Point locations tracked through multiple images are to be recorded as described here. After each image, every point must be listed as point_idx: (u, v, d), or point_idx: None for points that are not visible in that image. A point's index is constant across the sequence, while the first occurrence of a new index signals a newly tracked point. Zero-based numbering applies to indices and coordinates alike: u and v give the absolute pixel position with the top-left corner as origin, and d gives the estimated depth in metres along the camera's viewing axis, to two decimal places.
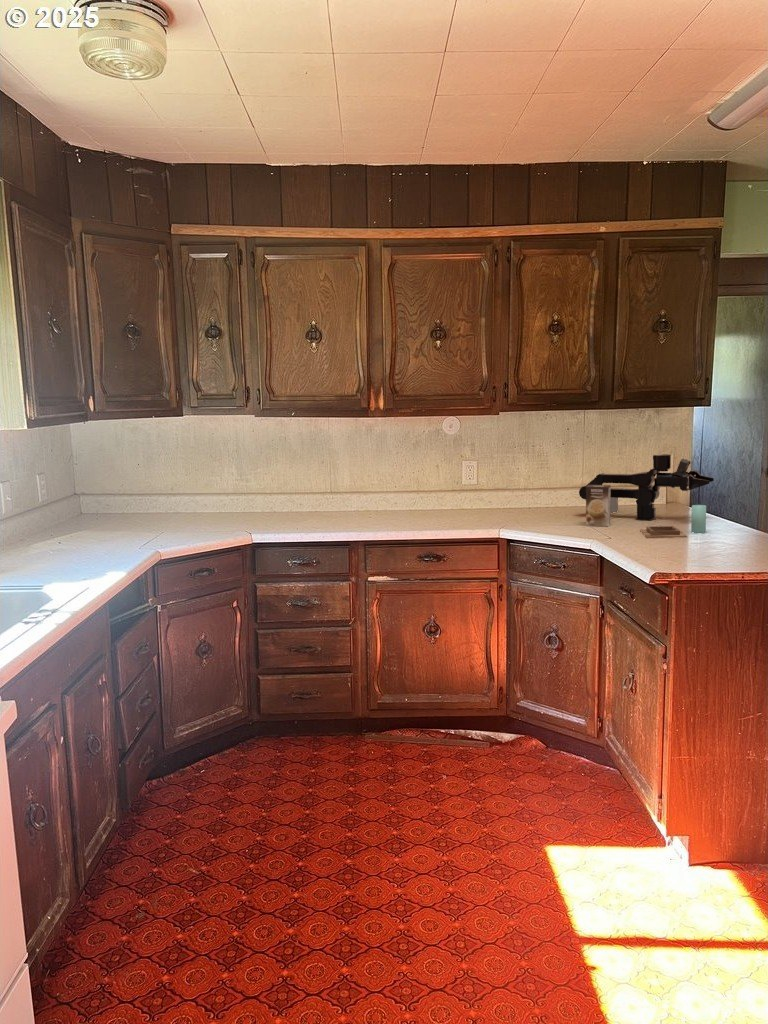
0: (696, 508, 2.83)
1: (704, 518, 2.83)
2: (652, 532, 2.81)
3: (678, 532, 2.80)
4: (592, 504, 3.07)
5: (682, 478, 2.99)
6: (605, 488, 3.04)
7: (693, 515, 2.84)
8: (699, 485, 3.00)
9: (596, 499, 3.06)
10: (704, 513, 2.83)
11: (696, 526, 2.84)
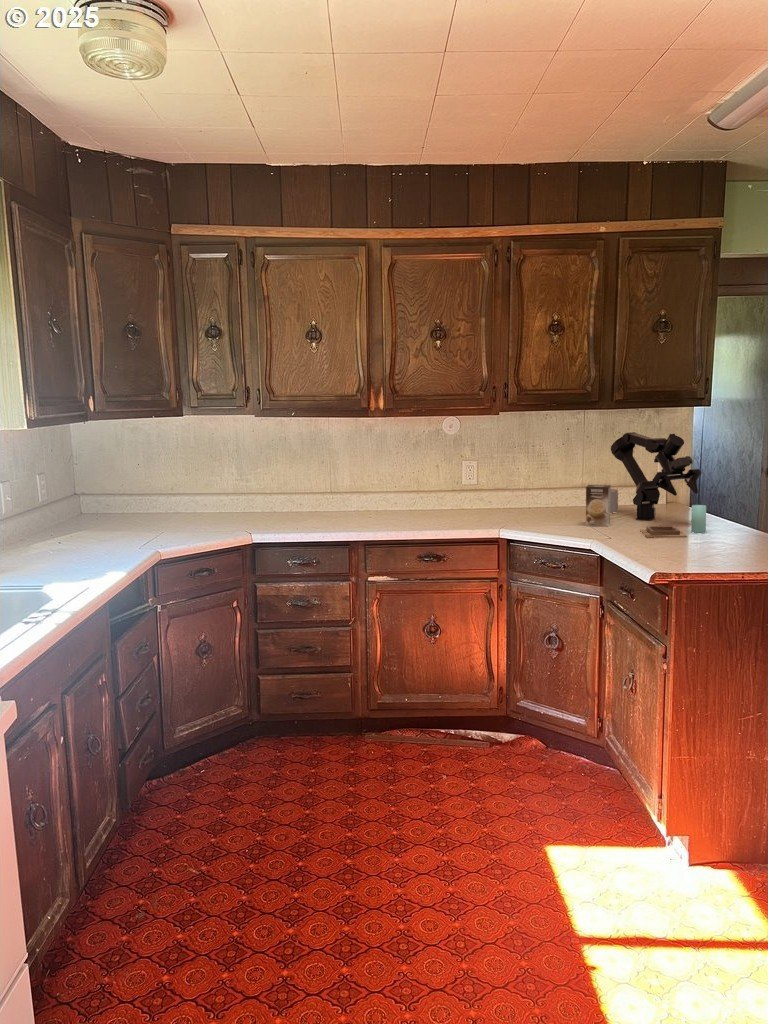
0: (696, 508, 2.83)
1: (704, 518, 2.83)
2: (652, 532, 2.81)
3: (678, 532, 2.80)
4: (592, 504, 3.07)
5: (657, 474, 2.93)
6: (605, 488, 3.04)
7: (693, 515, 2.84)
8: (668, 490, 2.93)
9: (596, 499, 3.06)
10: (704, 513, 2.83)
11: (696, 526, 2.84)
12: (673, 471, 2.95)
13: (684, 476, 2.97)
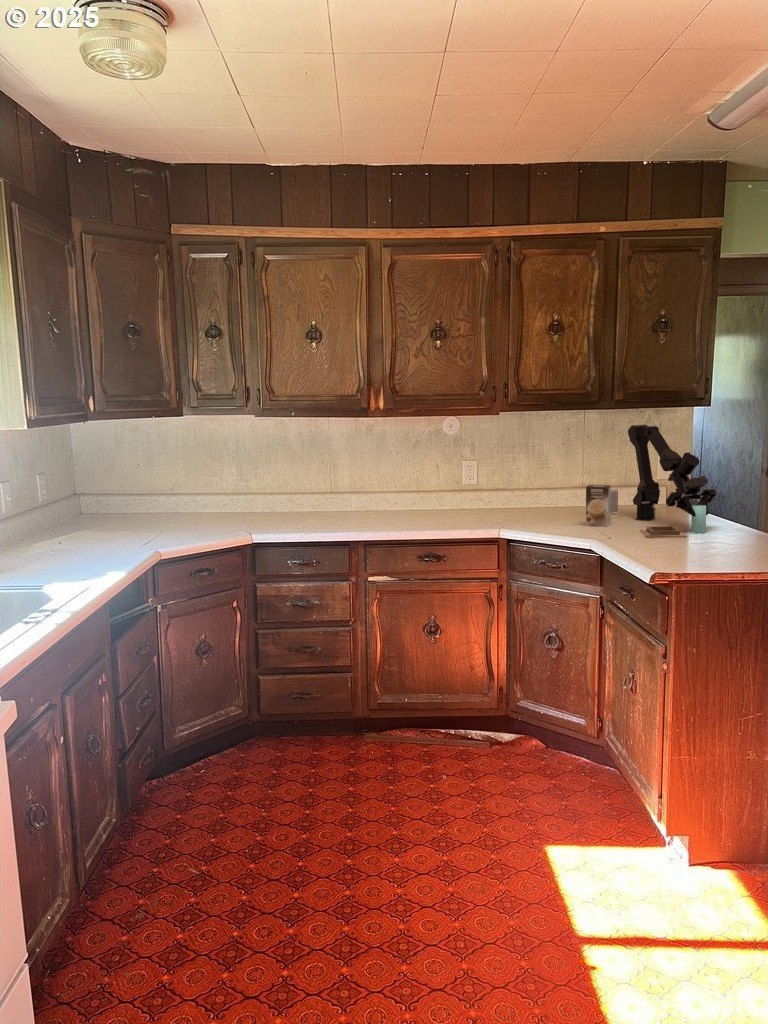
0: (696, 508, 2.83)
1: (704, 518, 2.83)
2: (652, 532, 2.81)
3: (678, 532, 2.80)
4: (592, 504, 3.07)
5: (670, 495, 2.85)
6: (605, 488, 3.04)
7: None
8: (686, 510, 2.86)
9: (596, 499, 3.06)
10: (704, 513, 2.83)
11: (696, 526, 2.84)
12: (688, 491, 2.87)
13: (699, 496, 2.89)
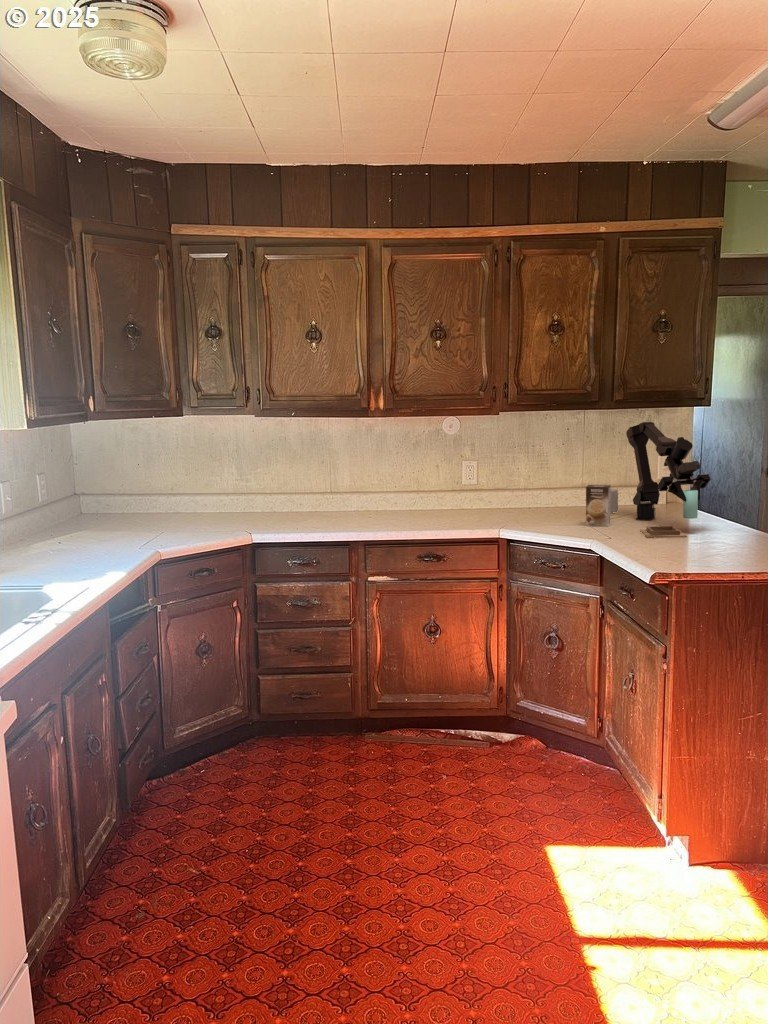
0: (687, 493, 2.82)
1: (695, 503, 2.81)
2: (652, 532, 2.81)
3: (678, 532, 2.80)
4: (592, 504, 3.07)
5: (661, 479, 2.85)
6: (605, 488, 3.04)
7: None
8: (678, 495, 2.85)
9: (596, 499, 3.06)
10: (695, 498, 2.81)
11: (687, 511, 2.82)
12: (680, 476, 2.85)
13: (692, 481, 2.87)
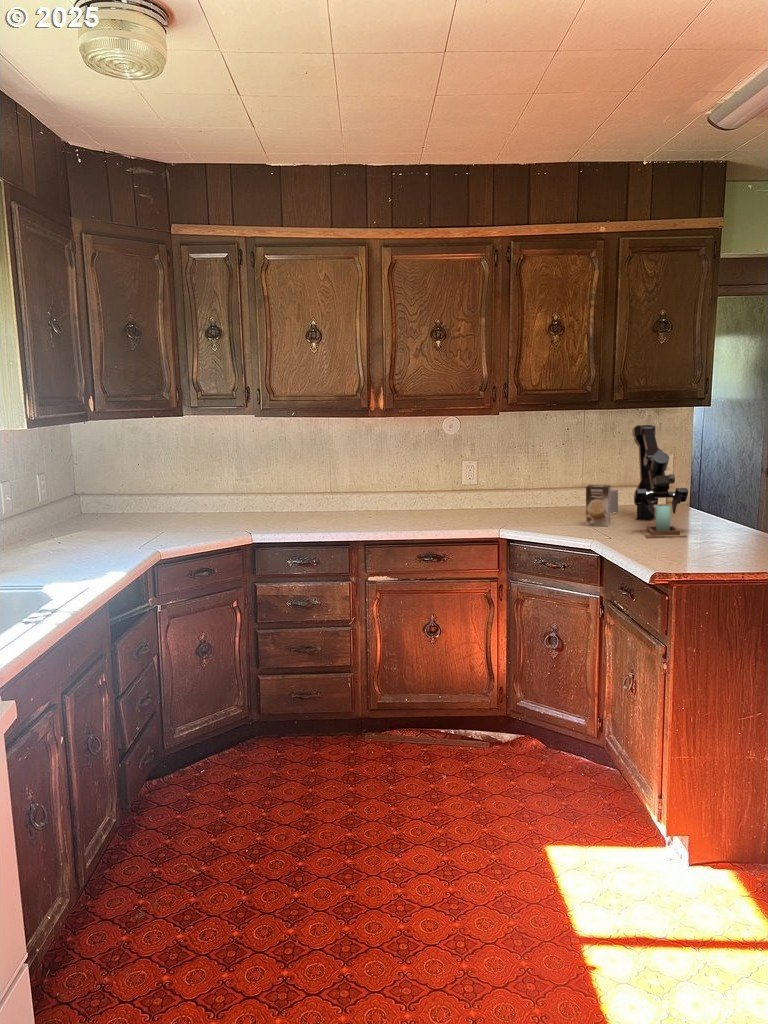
0: (658, 508, 2.83)
1: (665, 519, 2.82)
2: (652, 532, 2.81)
3: (678, 532, 2.80)
4: (592, 504, 3.07)
5: (635, 491, 2.88)
6: (605, 488, 3.04)
7: (656, 515, 2.85)
8: (648, 508, 2.87)
9: (596, 499, 3.06)
10: (666, 513, 2.82)
11: (658, 526, 2.84)
12: (655, 489, 2.87)
13: (669, 494, 2.87)
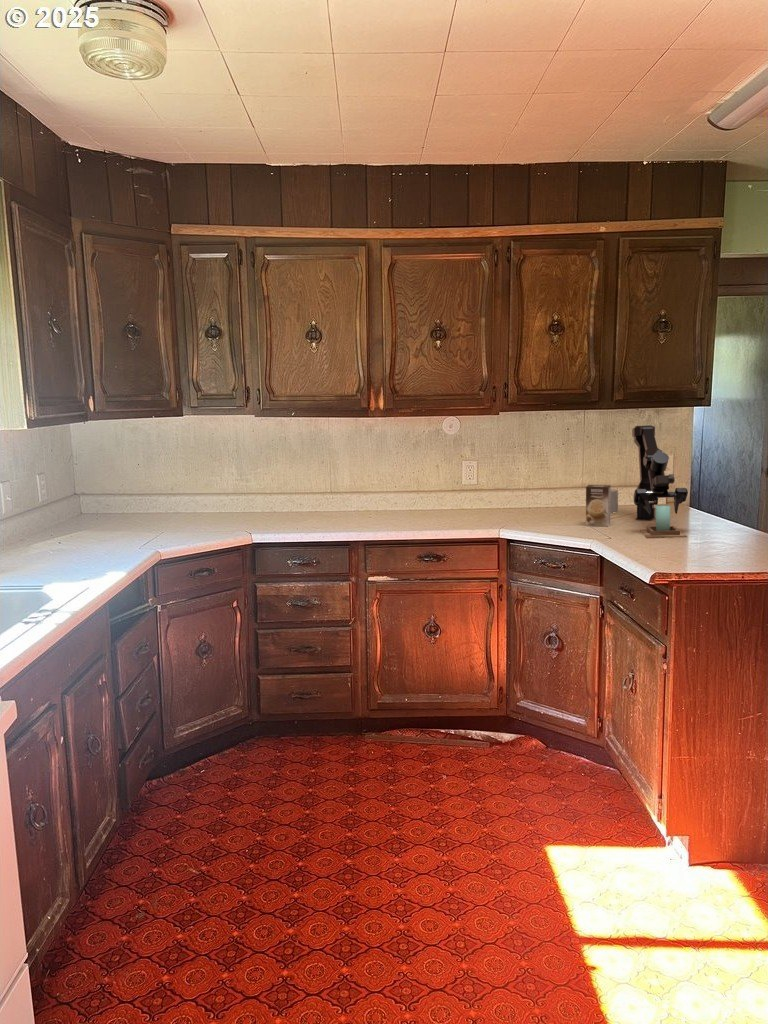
0: (658, 508, 2.83)
1: (665, 519, 2.82)
2: (652, 532, 2.81)
3: (678, 532, 2.80)
4: (592, 504, 3.07)
5: None
6: (605, 488, 3.04)
7: (656, 515, 2.85)
8: (645, 508, 2.87)
9: (596, 499, 3.06)
10: (666, 513, 2.82)
11: (658, 526, 2.84)
12: (654, 489, 2.87)
13: (669, 494, 2.87)
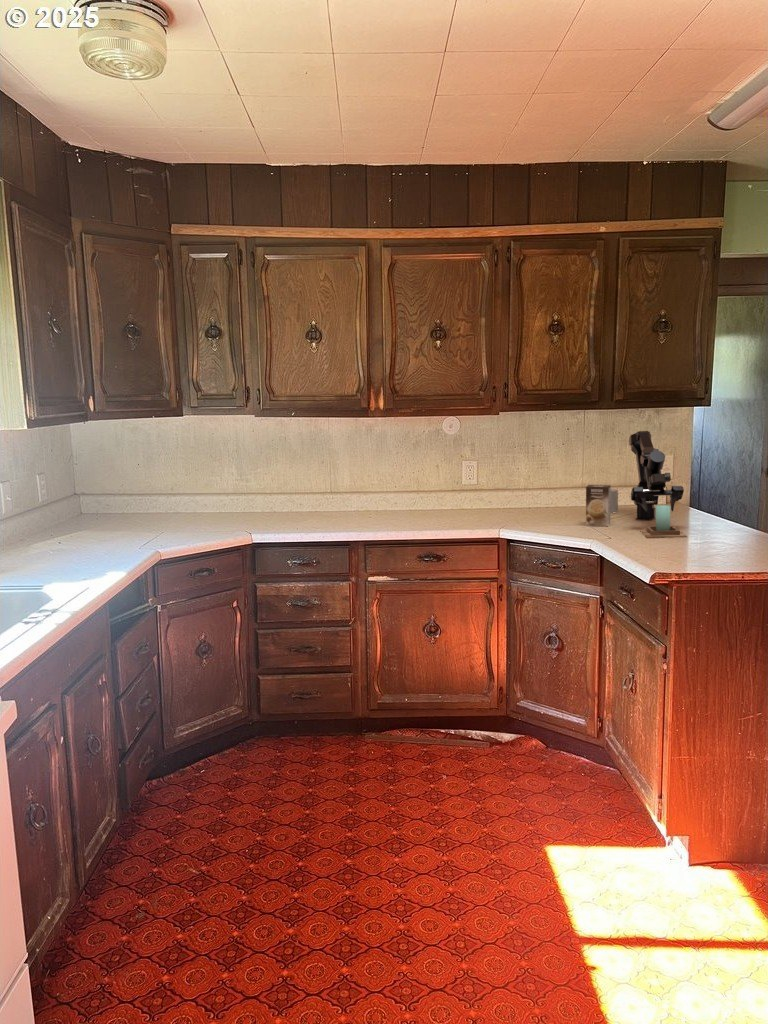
0: (658, 508, 2.83)
1: (665, 519, 2.82)
2: (652, 532, 2.81)
3: (678, 532, 2.80)
4: (592, 504, 3.07)
5: (632, 489, 2.95)
6: (605, 488, 3.04)
7: (656, 515, 2.84)
8: (642, 506, 2.94)
9: (596, 499, 3.06)
10: (666, 514, 2.82)
11: (658, 527, 2.84)
12: (651, 487, 2.94)
13: (665, 492, 2.94)
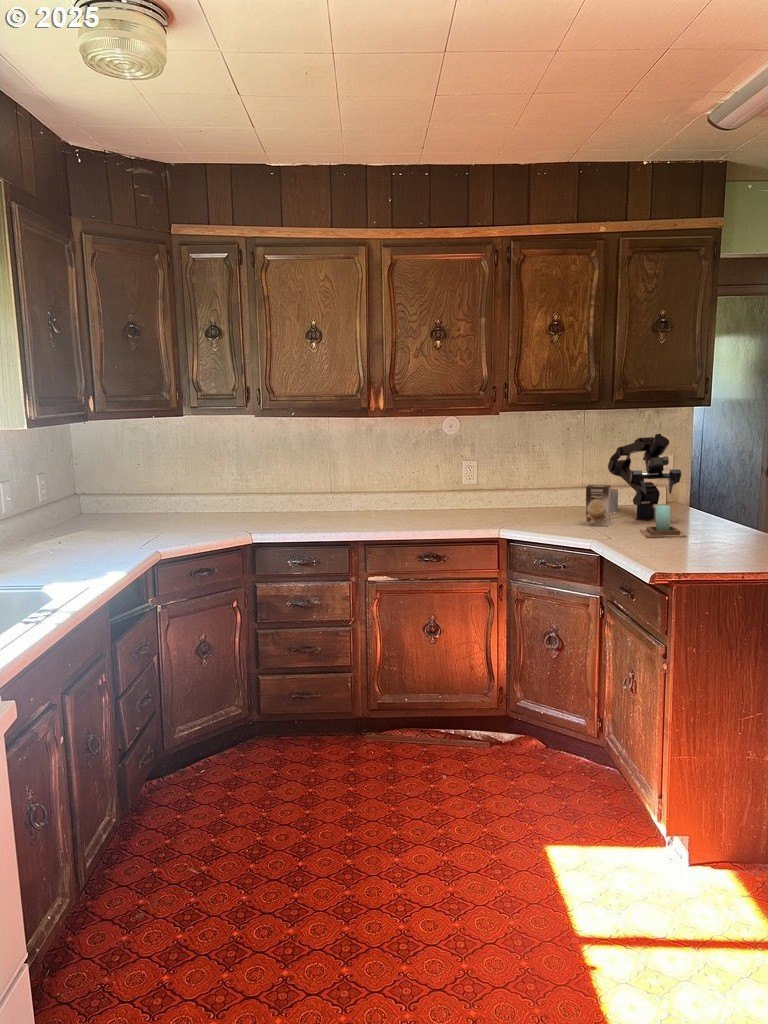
0: (657, 509, 2.83)
1: (665, 519, 2.82)
2: (652, 532, 2.81)
3: (678, 532, 2.80)
4: (592, 504, 3.07)
5: (631, 473, 3.05)
6: (605, 488, 3.04)
7: (656, 515, 2.84)
8: (641, 488, 3.03)
9: (596, 499, 3.06)
10: (666, 514, 2.82)
11: (658, 527, 2.84)
12: (650, 470, 3.03)
13: (663, 476, 3.03)
